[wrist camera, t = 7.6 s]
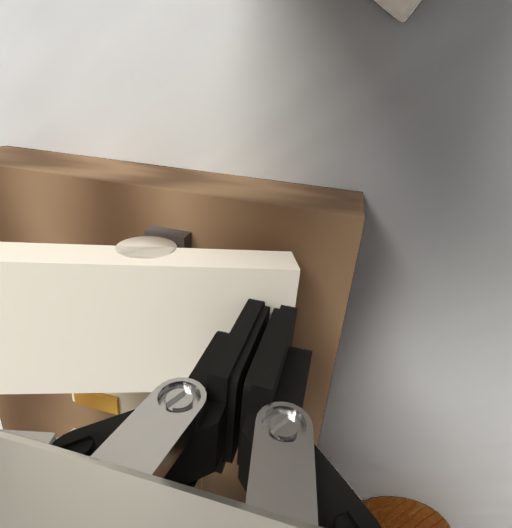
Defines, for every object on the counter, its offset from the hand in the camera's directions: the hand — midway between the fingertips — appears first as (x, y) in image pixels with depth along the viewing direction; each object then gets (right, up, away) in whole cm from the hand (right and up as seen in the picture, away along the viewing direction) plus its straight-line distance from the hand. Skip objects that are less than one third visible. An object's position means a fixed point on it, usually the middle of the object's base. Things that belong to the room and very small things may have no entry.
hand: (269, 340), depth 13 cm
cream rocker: (-4, +1, +1) cm, 5 cm away
